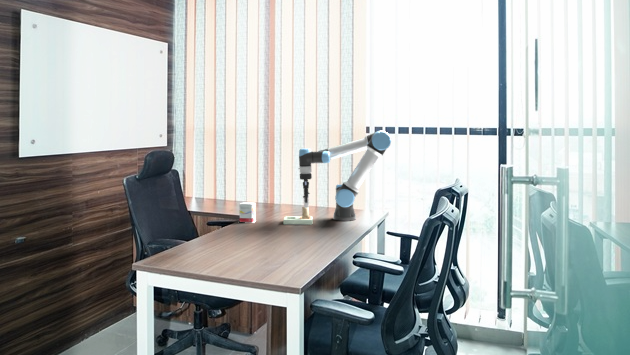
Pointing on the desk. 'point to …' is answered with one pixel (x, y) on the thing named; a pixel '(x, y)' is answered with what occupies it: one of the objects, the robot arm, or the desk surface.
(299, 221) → the socket board
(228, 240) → the desk surface
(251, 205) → the ink box
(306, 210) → the peg
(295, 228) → the desk surface
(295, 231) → the desk surface
